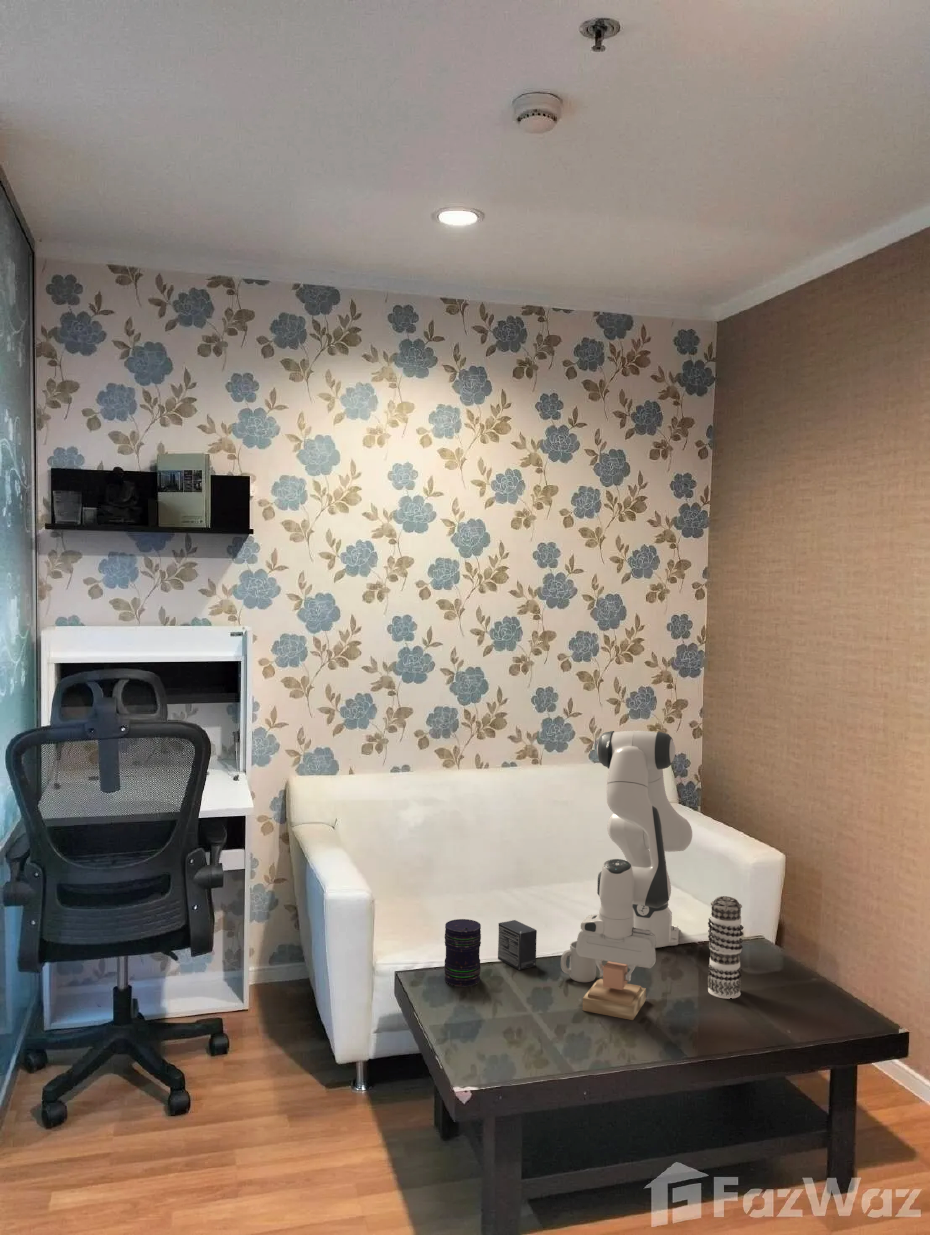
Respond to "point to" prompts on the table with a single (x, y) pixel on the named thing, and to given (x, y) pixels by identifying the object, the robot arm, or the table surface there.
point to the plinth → (614, 1000)
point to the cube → (614, 975)
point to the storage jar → (462, 952)
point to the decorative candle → (725, 948)
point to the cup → (578, 965)
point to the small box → (517, 944)
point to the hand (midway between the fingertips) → (615, 978)
